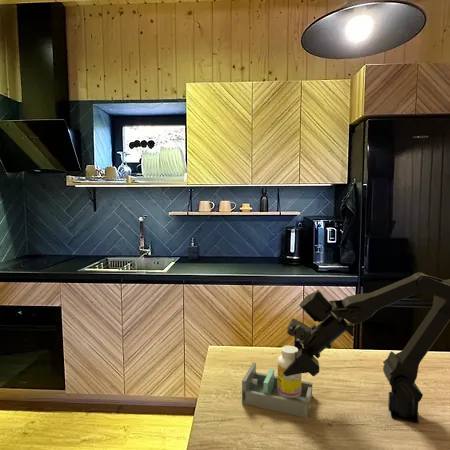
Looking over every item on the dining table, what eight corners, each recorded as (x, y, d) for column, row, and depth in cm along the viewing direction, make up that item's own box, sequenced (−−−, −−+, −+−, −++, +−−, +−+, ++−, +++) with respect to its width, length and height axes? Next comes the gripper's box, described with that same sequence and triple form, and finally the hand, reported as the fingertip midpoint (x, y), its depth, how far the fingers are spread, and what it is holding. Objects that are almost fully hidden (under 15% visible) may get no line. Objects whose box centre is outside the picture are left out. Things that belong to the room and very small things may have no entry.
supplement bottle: (278, 384, 104) (278, 342, 102) (301, 387, 102) (301, 344, 101) (276, 398, 97) (277, 353, 96) (301, 400, 96) (302, 355, 94)
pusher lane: (312, 395, 103) (312, 373, 102) (307, 418, 93) (307, 393, 92) (252, 383, 109) (252, 362, 108) (241, 403, 99) (242, 380, 98)
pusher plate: (274, 386, 105) (274, 368, 105) (267, 402, 98) (267, 383, 97) (270, 385, 106) (270, 368, 105) (263, 401, 98) (263, 382, 97)
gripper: (303, 300, 106) (266, 333, 109) (306, 324, 87) (261, 363, 90) (330, 327, 105) (292, 360, 108) (338, 357, 87) (292, 395, 90)
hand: (284, 368), depth 99 cm, fingers closed on supplement bottle, 7 cm apart
